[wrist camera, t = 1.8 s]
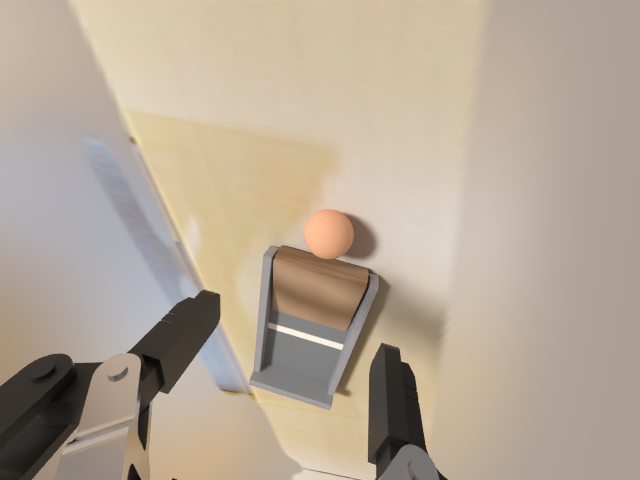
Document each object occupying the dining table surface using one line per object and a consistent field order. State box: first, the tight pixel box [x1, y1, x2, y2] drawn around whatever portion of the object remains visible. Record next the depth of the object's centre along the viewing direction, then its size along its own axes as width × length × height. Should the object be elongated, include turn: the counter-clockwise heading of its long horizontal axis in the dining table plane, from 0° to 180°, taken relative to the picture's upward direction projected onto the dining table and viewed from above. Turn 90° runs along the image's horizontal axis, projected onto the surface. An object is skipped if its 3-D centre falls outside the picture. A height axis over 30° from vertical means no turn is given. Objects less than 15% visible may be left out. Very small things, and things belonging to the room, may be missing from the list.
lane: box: [249, 246, 379, 410], centre depth 27 cm, size 20×11×3 cm, turn 169°
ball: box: [304, 210, 354, 259], centre depth 20 cm, size 4×4×4 cm
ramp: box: [272, 245, 368, 331], centre depth 25 cm, size 9×9×3 cm
